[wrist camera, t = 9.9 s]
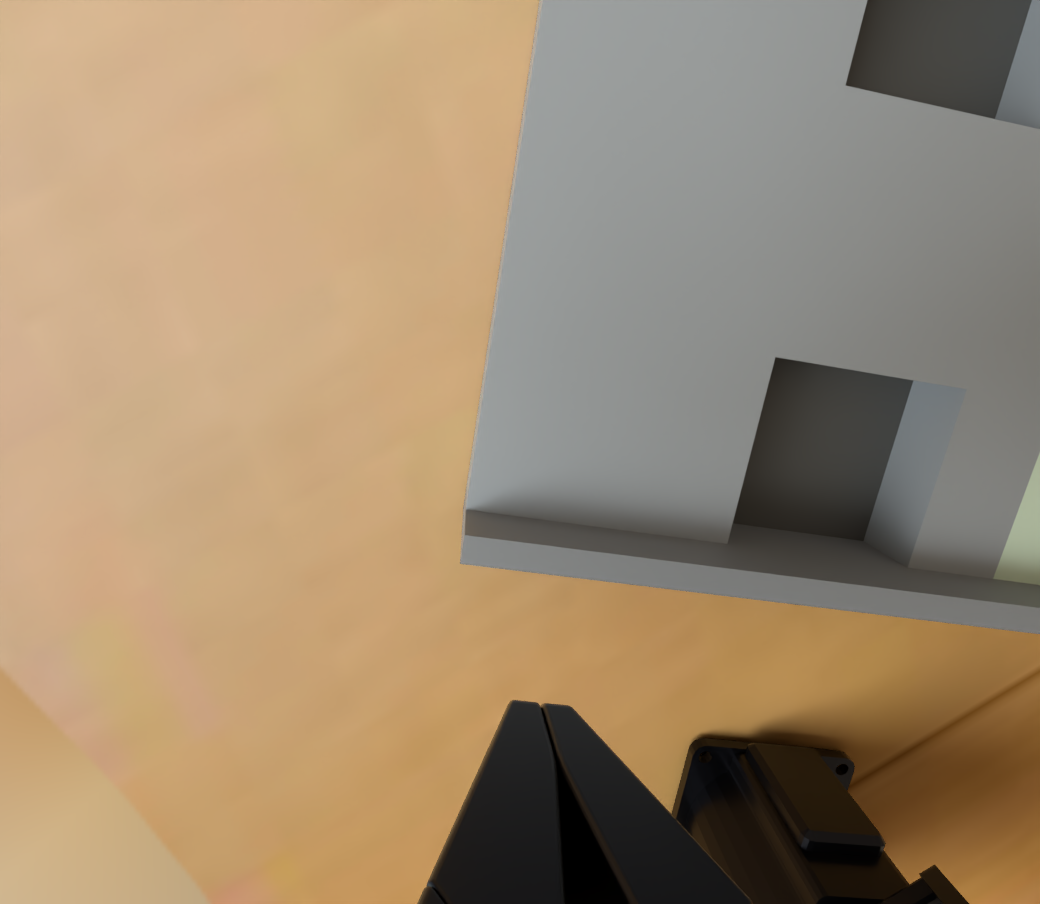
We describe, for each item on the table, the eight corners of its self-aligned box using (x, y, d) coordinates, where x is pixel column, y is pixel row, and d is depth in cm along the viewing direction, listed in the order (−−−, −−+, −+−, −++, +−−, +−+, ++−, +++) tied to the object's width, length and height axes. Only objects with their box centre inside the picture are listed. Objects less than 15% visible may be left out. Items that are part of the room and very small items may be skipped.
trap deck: (1096, 590, 22) (1246, 659, 18) (463, 507, 20) (459, 563, 15) (1345, -11, 18) (1622, -112, 14) (572, -220, 15) (611, -427, 11)
